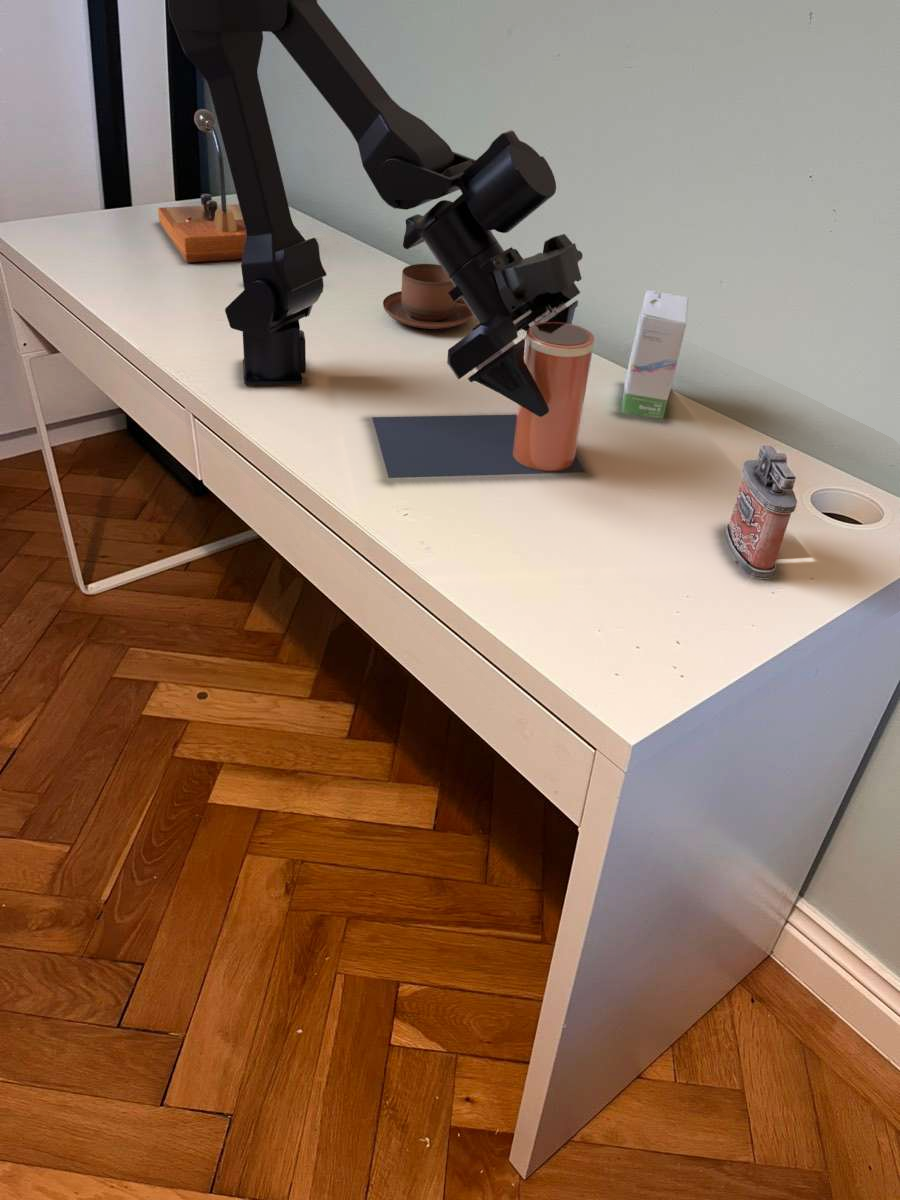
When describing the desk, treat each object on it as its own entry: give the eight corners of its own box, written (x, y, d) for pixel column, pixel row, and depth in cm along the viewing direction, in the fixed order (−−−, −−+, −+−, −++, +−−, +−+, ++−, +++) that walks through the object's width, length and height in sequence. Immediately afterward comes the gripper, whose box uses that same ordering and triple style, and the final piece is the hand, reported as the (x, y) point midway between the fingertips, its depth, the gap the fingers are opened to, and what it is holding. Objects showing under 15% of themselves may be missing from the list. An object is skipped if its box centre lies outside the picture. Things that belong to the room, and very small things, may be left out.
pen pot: (520, 472, 99) (536, 347, 91) (505, 441, 104) (519, 320, 96) (582, 470, 100) (604, 347, 92) (564, 440, 105) (583, 321, 97)
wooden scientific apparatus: (203, 288, 134) (193, 149, 124) (159, 223, 155) (147, 100, 145) (299, 281, 139) (297, 147, 129) (243, 219, 160) (238, 100, 150)
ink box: (624, 385, 119) (642, 287, 112) (667, 391, 118) (689, 294, 111) (619, 415, 112) (639, 313, 105) (665, 422, 111) (688, 320, 104)
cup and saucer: (449, 299, 138) (452, 255, 134) (488, 331, 129) (493, 285, 125) (368, 307, 133) (370, 261, 129) (404, 341, 125) (406, 292, 121)
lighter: (717, 529, 93) (743, 433, 87) (751, 530, 94) (780, 434, 88) (744, 579, 87) (775, 479, 81) (781, 579, 87) (814, 480, 81)
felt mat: (388, 481, 96) (388, 477, 96) (371, 420, 106) (372, 416, 106) (585, 475, 100) (585, 471, 100) (551, 417, 110) (551, 414, 110)
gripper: (489, 233, 82) (591, 391, 85) (574, 190, 96) (661, 327, 99) (403, 305, 90) (500, 447, 93) (494, 255, 103) (576, 381, 106)
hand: (564, 397), depth 97 cm, fingers open, 9 cm apart
